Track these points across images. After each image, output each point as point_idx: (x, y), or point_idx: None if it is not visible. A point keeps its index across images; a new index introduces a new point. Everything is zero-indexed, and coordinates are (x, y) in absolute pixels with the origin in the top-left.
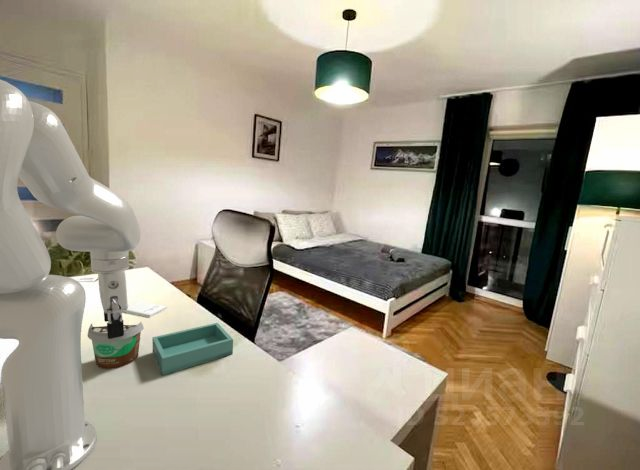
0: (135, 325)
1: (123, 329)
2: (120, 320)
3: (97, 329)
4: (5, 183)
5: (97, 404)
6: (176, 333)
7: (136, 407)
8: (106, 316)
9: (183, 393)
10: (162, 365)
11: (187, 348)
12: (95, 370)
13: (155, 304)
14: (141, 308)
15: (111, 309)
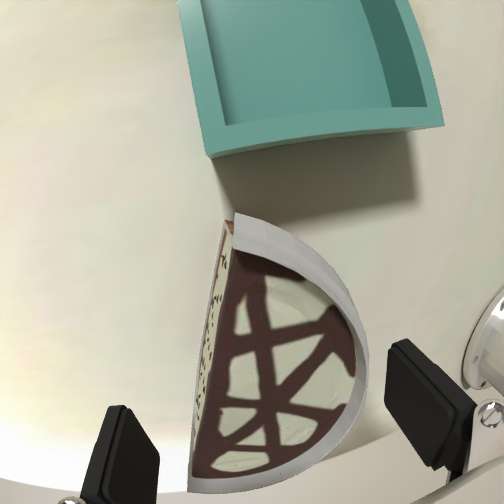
0: (245, 285)
1: (428, 360)
2: (501, 414)
3: (232, 461)
4: None
5: (444, 302)
6: (203, 26)
7: (489, 213)
8: (152, 477)
9: (481, 101)
10: (424, 128)
11: (262, 16)
12: None
13: None
14: None
15: (135, 501)
